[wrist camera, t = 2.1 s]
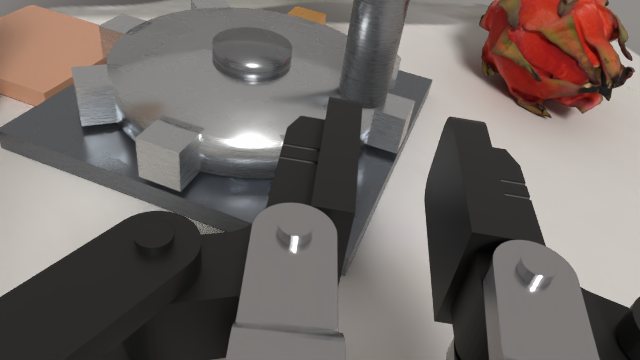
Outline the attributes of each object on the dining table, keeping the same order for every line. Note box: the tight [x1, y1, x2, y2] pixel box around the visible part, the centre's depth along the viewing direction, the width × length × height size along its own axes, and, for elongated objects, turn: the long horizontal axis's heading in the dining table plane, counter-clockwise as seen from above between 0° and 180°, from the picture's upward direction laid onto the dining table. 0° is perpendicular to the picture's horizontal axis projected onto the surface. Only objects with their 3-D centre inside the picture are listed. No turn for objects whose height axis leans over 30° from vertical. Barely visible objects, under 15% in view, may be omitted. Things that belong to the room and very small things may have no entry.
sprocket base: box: [0, 63, 432, 276], centre depth 30 cm, size 17×17×1 cm
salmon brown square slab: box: [0, 5, 107, 106], centre depth 32 cm, size 8×8×1 cm
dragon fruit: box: [479, 0, 635, 118], centre depth 35 cm, size 8×8×12 cm
